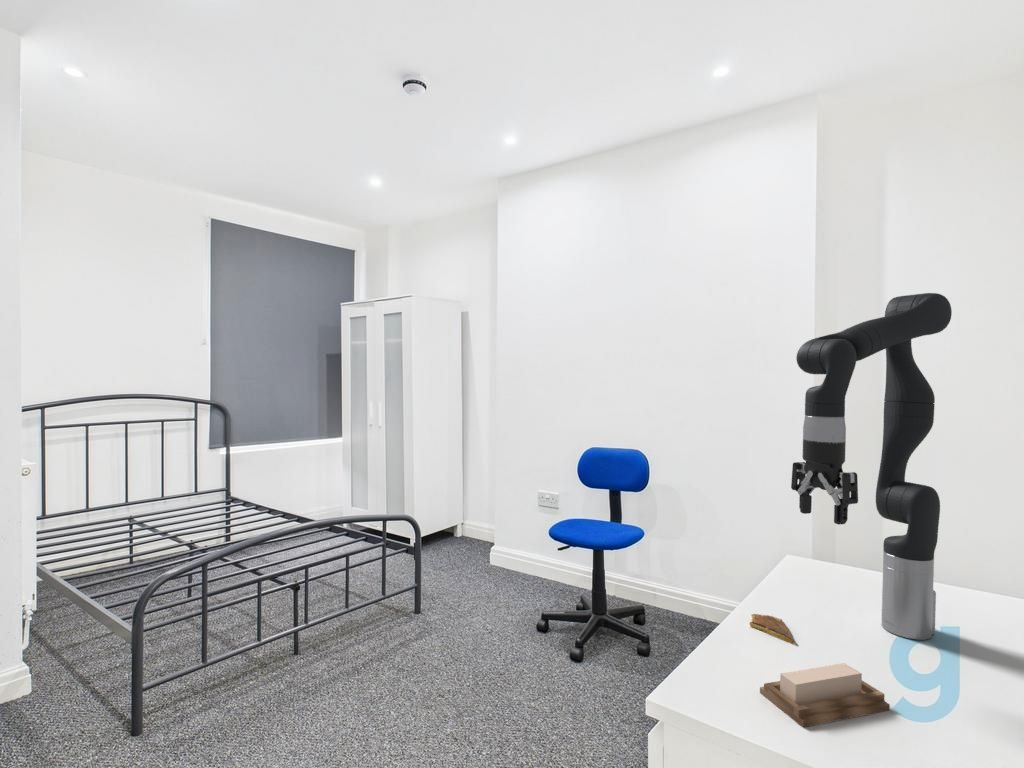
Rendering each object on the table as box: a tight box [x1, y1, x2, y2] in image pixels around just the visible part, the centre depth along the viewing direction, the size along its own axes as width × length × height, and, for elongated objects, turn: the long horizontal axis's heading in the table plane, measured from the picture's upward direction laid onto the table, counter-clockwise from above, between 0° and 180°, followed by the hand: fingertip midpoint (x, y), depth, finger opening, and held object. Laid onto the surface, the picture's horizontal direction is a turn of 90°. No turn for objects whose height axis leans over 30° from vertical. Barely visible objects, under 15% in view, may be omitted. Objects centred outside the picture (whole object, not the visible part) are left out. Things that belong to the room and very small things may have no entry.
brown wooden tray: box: [759, 680, 891, 728], centre depth 97 cm, size 18×10×2 cm, turn 106°
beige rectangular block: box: [779, 662, 863, 706], centre depth 97 cm, size 14×4×4 cm, turn 106°
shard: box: [749, 613, 795, 644], centre depth 123 cm, size 11×8×2 cm
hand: (822, 518), depth 112 cm, fingers open, 8 cm apart
